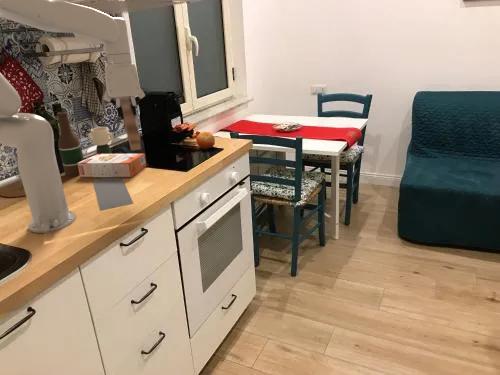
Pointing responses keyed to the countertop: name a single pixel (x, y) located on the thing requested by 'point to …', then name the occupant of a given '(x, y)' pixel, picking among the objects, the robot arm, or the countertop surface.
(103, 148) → the cream and green trophy
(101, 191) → the mat
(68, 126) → the beer bottle
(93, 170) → the cracker box
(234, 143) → the countertop surface
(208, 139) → the fruit
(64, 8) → the robot arm
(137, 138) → the bar
